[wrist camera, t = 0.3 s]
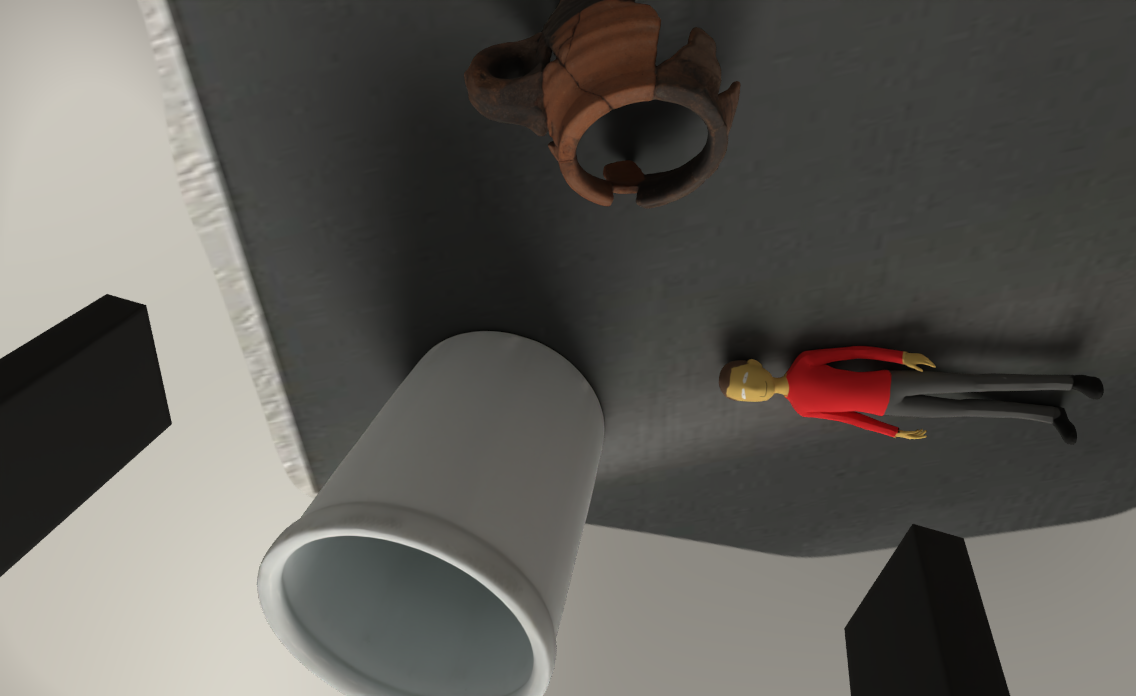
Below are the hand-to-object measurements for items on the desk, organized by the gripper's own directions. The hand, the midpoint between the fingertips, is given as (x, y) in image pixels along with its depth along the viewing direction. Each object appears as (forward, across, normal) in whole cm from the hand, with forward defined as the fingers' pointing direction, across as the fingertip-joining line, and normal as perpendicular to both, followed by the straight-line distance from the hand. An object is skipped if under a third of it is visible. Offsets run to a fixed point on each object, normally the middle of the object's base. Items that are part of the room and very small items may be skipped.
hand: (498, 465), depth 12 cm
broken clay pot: (+27, -3, 0) cm, 27 cm away
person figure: (+27, +15, -12) cm, 33 cm away
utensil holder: (+27, -6, -23) cm, 36 cm away
